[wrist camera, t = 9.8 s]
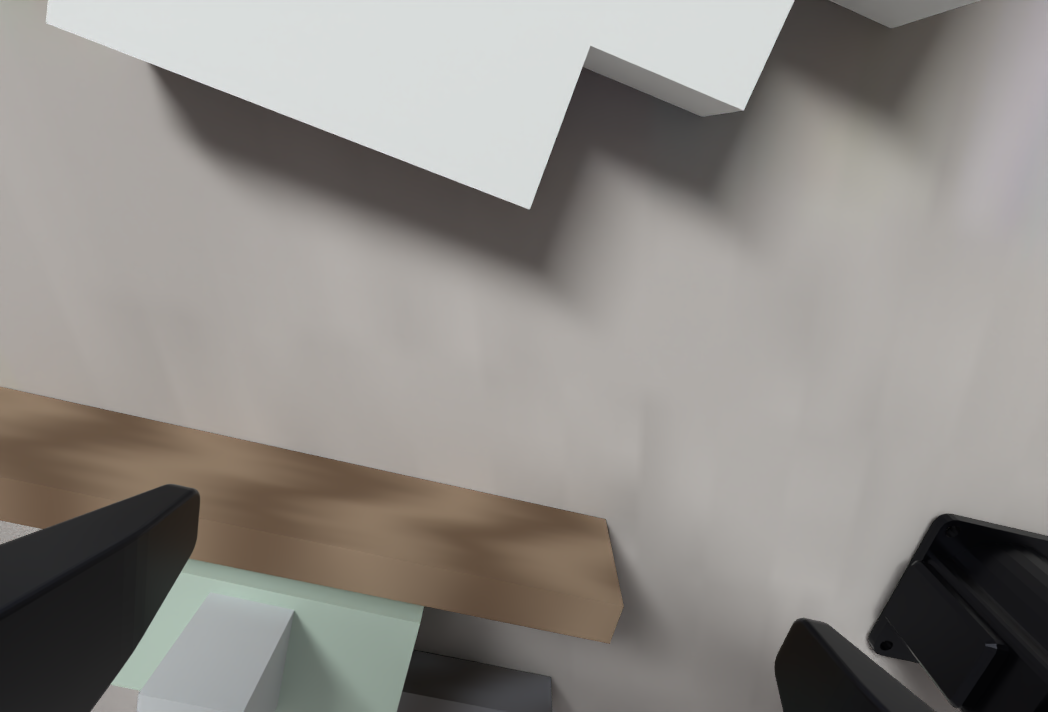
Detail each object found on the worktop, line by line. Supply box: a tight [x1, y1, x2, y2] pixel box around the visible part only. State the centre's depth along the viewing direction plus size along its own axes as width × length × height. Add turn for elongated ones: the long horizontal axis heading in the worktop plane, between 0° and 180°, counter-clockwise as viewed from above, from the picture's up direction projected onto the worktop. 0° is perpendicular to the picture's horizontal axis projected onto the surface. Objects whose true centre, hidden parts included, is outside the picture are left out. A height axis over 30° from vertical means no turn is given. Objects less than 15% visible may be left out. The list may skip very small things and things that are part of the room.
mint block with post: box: [110, 559, 424, 712], centre depth 19 cm, size 10×5×8 cm, turn 75°
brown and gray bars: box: [0, 387, 624, 712], centre depth 21 cm, size 22×10×4 cm, turn 76°
